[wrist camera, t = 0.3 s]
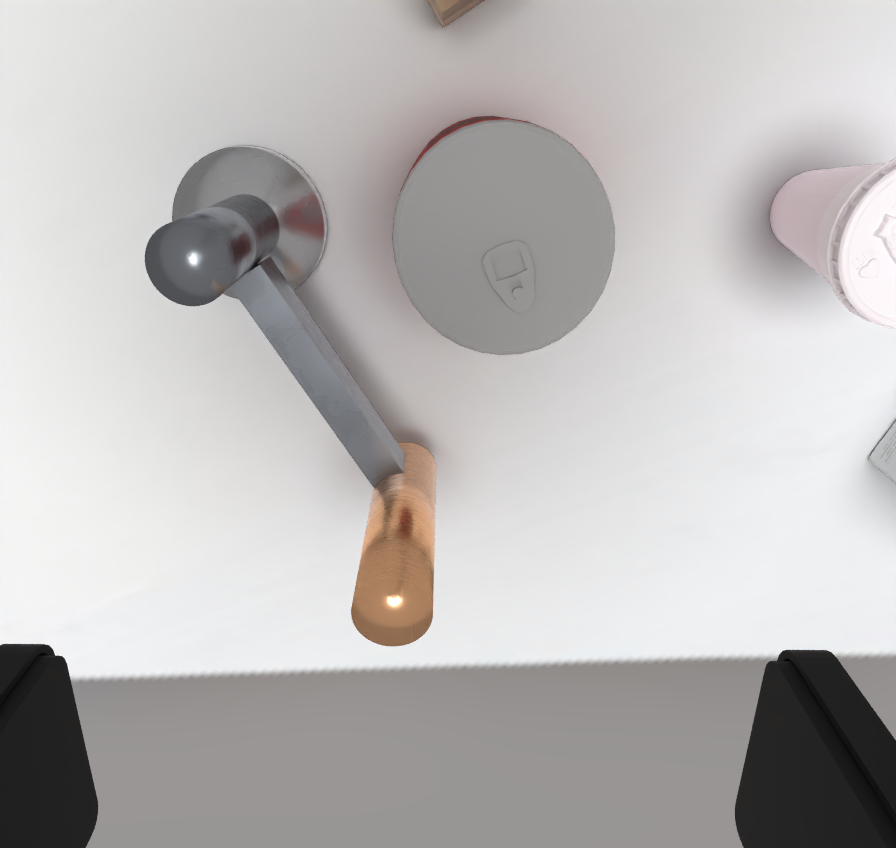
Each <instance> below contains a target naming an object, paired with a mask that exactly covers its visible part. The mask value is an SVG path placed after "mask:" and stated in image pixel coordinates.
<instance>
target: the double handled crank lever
mask: <svg viewBox="0 0 896 848" xmlns="http://www.w3.org/2000/svg"><path fill="white" fill-rule="evenodd" d="M279 233H280V229H279V222H278V219H277V217H276V214H275V213H274V211H273V210H272V208H271V207H270V206H269V205H268V204H267V203H266V202H265V201H263V200H262V199H260V198H258V197H256V196H253V195H248V194H238V195H234V196H232V197H229V198H227V199H225V200H222V201H220V202H218V203H215V204H213V205H211V206H208V207H206V208H204V209H201V210H199V211H197V212H194V213H192V214H190V215H187V216H185V217H183V218H180V219H178V220H176V221H173V222H171V223H169V224H166V225H164V226H162V227H161V228H159V229H158V230H157V231H156V232H155V233H154V234H153V235H152V237H151V238H150V240H149V242H148V244H147V247H146V252H145V265H146V270H147V273H148V275H149V278H150V280H151V281H152V283H153V284H154V286H155V287H156V288H157V290H158V291H159V292H160V293H162V294H163V295H164V296H165V297H167V298H168V299H170V300H171V301H174V302H176V303H178V304H182V305H186V306H200V305H205V304H207V303H210V302H212V301H214V300H215V299H216V298H218V297H219V296H220V295H221V294H222V293H224V292H225V291H226V290H227V289H228V288H229V287H231V288H232V290H233V291H234V292H235V294H236V295H237V297H238V298H239V299H240V301H241V302H242V304H243V305H244V306H245V308H246V309H247V311H248V312H249V313H250V315H251V316H252V318H253V319H254V320H255V322H256V323H257V325H258V326H259V327H260V329H261V330H262V332H263V333H264V334H265V336H266V337H267V339H268V340H269V341H270V343H271V344H272V346H273V347H274V348H275V350H276V351H277V353H278V354H279V355H280V357H281V358H282V360H283V361H284V363H285V364H286V365H287V367H288V368H289V370H290V371H291V372H292V374H293V375H294V377H295V378H296V379H297V381H298V382H299V384H300V385H301V386H302V388H303V389H304V391H305V392H306V393H307V395H308V396H309V398H310V399H311V400H312V402H313V403H314V405H315V406H316V407H317V409H318V410H319V412H320V413H321V414H322V416H323V417H324V419H325V420H326V421H327V423H328V424H329V426H330V427H331V428H332V430H333V431H334V433H335V434H336V435H337V437H338V438H339V440H340V441H341V442H342V444H343V445H344V447H345V448H346V449H347V451H348V452H349V454H350V455H351V456H352V458H353V459H354V461H355V462H356V463H357V465H358V466H359V468H360V469H361V470H362V472H363V473H364V475H365V476H366V477H367V479H368V480H369V482H370V483H371V484H372V486H373V487H374V490H373V495H372V501H371V506H370V511H369V517H368V522H367V528H366V533H365V538H364V544H363V549H362V554H361V560H360V565H359V571H358V576H357V581H356V587H355V592H354V597H353V603H352V609H351V615H352V620H353V623H354V625H355V627H356V628H357V630H358V631H359V632H360V633H361V634H362V635H363V636H364V637H365V638H367V639H368V640H370V641H372V642H374V643H377V644H380V645H385V646H401V645H406V644H409V643H412V642H414V641H416V640H417V639H419V638H420V637H422V636H423V635H424V634H425V632H426V631H427V630H428V628H429V627H430V624H431V622H432V617H433V583H434V542H435V501H436V463H435V460H434V458H433V456H432V455H431V453H430V452H429V451H428V450H427V449H425V448H424V447H422V446H420V445H418V444H415V443H410V442H404V443H397V441H396V440H395V438H394V437H393V435H392V434H391V432H390V431H389V430H388V428H387V427H386V425H385V424H384V422H383V421H382V419H381V418H380V416H379V415H378V413H377V412H376V410H375V409H374V408H373V406H372V405H371V403H370V402H369V400H368V399H367V397H366V396H365V394H364V393H363V391H362V390H361V388H360V387H359V386H358V384H357V383H356V381H355V380H354V378H353V377H352V375H351V374H350V372H349V371H348V369H347V368H346V366H345V365H344V364H343V362H342V361H341V359H340V358H339V356H338V355H337V353H336V352H335V350H334V349H333V347H332V346H331V344H330V343H329V342H328V340H327V339H326V337H325V336H324V334H323V333H322V331H321V330H320V328H319V327H318V325H317V324H316V323H315V321H314V320H313V318H312V317H311V315H310V314H309V312H308V311H307V309H306V308H305V306H304V305H303V303H302V302H301V301H300V299H299V298H298V296H297V295H296V293H295V292H294V290H293V289H292V287H291V286H290V284H289V283H288V281H287V280H286V279H285V277H284V276H283V274H282V273H281V271H280V270H279V268H278V267H277V265H276V264H275V262H274V261H273V259H272V258H271V257H270V256H269V257H268V258H266V259H264V258H265V257H266V256H267V255H268V254H270V253H271V252H272V251H273V249H274V248H275V246H276V244H277V242H278V239H279ZM263 259H264V260H263ZM261 260H263V261H261ZM260 261H261V262H260ZM259 262H260V263H259Z"/></svg>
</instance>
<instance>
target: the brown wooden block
mask: <svg viewBox="0 0 896 848" xmlns="http://www.w3.org/2000/svg"><path fill="white" fill-rule="evenodd" d="M483 1H484V0H428V2H429V4H430V6H431V8H432V10H433V11H434V13H435V15H436V17H437V19H438V21H439V23H440V25H441V26H442V28H444V27H445V26H447V25H448V24H450V23H451V22H453V21H454V20H456V19H457V18H459V17H460V16H462V15H463V14H465V13H466V12H468V11H469V10H471V9H472V8H474V7H475V6H477V5H478V4H480V3H481V2H483Z"/></svg>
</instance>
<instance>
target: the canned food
mask: <svg viewBox="0 0 896 848" xmlns="http://www.w3.org/2000/svg"><path fill="white" fill-rule="evenodd" d="M392 238H393V247H394V256H395V262H396V266H397V269H398V272H399V275H400V279H401V282H402V285H403V287H404V289H405V291H406V293H407V294H408V296H409V298H410V300H411V302H412V304H413V305H414V307H415V308H416V309H417V310H418V312H419V313H420V314H421V315H422V317H423V318H424V319H425V320H426V322H428V323H429V324H430V325H431V326H432V327H433V328H435V329H436V330H437V331H438V332H439V333H440V334H442V335H443V336H445V337H446V338H448V339H450V340H452V341H453V342H455V343H457V344H459V345H460V346H463V347H466V348H469V349H472V350H475V351H478V352H482V353H490V354H497V355H508V354H522V353H525V352H529V351H533V350H537V349H541V348H543V347H545V346H547V345H549V344H551V343H553V342H555V341H557V340H559V339H561V338H562V337H564V336H565V335H566V334H568V333H569V332H570V331H572V330H573V329H574V328H576V327H577V326H578V325H579V324H580V322H581V321H582V320H583V319H584V318H585V317H586V316H587V315H588V314H589V313H590V312H591V310H592V309H593V307H594V305H595V304H596V302H597V300H598V299H599V297H600V296H601V294H602V292H603V290H604V287H605V285H606V282H607V279H608V277H609V274H610V271H611V266H612V261H613V255H614V250H615V227H614V222H613V216H612V211H611V206H610V203H609V200H608V198H607V195H606V193H605V190H604V188H603V185H602V183H601V181H600V179H599V178H598V176H597V175H596V173H595V172H594V170H593V168H592V167H591V165H590V164H589V162H588V161H587V160H586V159H585V158H584V157H583V156H582V155H581V154H580V153H579V152H578V151H577V150H576V149H575V148H574V147H573V145H572V144H570V143H569V142H567V141H566V140H564V139H563V138H561V137H560V136H558V135H557V134H555V133H554V132H552V131H550V130H548V129H545V128H543V127H540V126H537V125H535V124H532V123H530V122H527V121H521V120H514V119H508V118H501V117H495V116H484V117H473V118H470V119H466V120H463V121H459V122H457V123H455V124H453V125H452V126H450V127H448V128H446V129H444V130H443V131H442V132H440V133H439V134H438V135H437V136H436V137H435V138H433V139H432V140H431V141H430V142H429V143H428V145H427V146H426V147H425V149H424V150H423V151H422V153H421V154H420V155H419V157H418V159H417V160H416V162H415V163H414V165H413V167H412V168H411V170H410V172H409V174H408V176H407V178H406V180H405V183H404V185H403V187H402V189H401V192H400V195H399V199H398V203H397V206H396V210H395V214H394V224H393V237H392Z"/></svg>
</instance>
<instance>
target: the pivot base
mask: <svg viewBox="0 0 896 848" xmlns="http://www.w3.org/2000/svg"><path fill="white" fill-rule="evenodd" d="M238 194H248V195H253V196H256V197H258V198H260V199H262V200H263V201H265V202H266V203H267V204H268V205H269V206H270V207H271V208H272V210H273V211H274V213H275V214H276V217H277V219H278V222H279V229H280V233H279V239H278V242H277V244H276V246H275V248H274V249H273V251H272V252H271V253H270V254H268V255H267V256H266V257H265V258H264V259H266V258H268V257H269V256H270V257H271V258H272V259H273V261H274V262H275V264H276V265H277V267H278V268H279V270H280V271H281V273H282V274H283V276H284V277H285V279H286V280H287V281H288V283H289V284H290V286H291V287H292V289H293V290H294V289H296V288H297V287H298V286H300V285H301V284H302V283H303V282H304V281H305V280H306V279H307V278H308V277H309V275H310V274H311V273H312V271H313V270H314V269H315V268H316V266H317V264H318V262H319V261H320V259H321V256H322V254H323V251H324V247H325V243H326V237H327V220H326V213H325V209H324V205H323V202H322V200H321V197H320V195H319V193H318V191H317V189H316V187H315V185H314V184H313V182H312V181H311V180H310V178H309V177H308V176H307V175H306V174H305V172H304V171H303V170H302V169H301V168H300V167H298V166H297V165H296V164H295V163H294V162H292V161H291V160H289V159H288V158H286V157H285V156H283V155H281V154H279V153H277V152H275V151H272V150H269V149H266V148H261V147H256V146H235V147H230V148H226V149H221V150H218V151H215V152H213V153H210V154H209V155H207V156H205V157H203V158H202V159H200V160H199V161H198V162H197V163H195V164H194V165H193V166H192V167H191V168H190V169H189V171H188V172H187V173H186V174H185V176H184V177H183V179H182V181H181V183H180V185H179V187H178V189H177V192H176V195H175V198H174V203H173V213H172V220H173V221H176V220H178V219H180V218H183V217H185V216H187V215H190V214H192V213H194V212H197V211H199V210H201V209H204V208H206V207H208V206H211V205H213V204H215V203H218V202H220V201H222V200H225V199H227V198H229V197H232V196H234V195H238ZM264 259H263V260H264ZM263 260H261V261H263ZM261 261H260V262H261ZM260 262H259V263H260ZM223 294H225V295H227V296H230V297H233V298H236V299H239V298H238V297H237V295H236V294H235V292H234V291H233V290H232V288H231V287H229V288H228V289H227V290H226V291H225V292H224V293H223Z"/></svg>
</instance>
